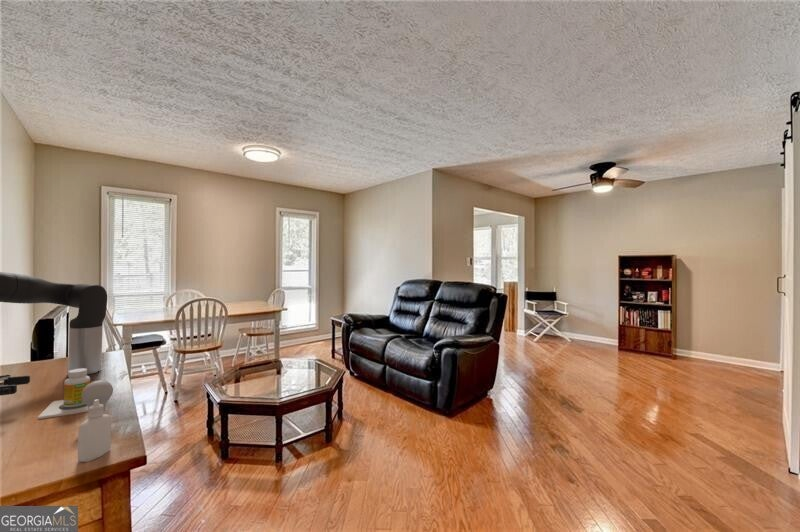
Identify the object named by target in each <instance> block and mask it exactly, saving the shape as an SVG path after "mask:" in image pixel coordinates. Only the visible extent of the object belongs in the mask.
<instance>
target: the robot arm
mask: <svg viewBox="0 0 800 532" xmlns="http://www.w3.org/2000/svg"><path fill="white" fill-rule="evenodd" d="M0 303H9V304H10V303H11V304H53V305H61V306H66V307H70V308H71V307H72V308H76V309H78V312H77V316H76V317H73V318H72V319H70V321H69V326H68V327H69V329H68V332H69V333H68V336H69V337H68V357H67V358H68V362H67V372H68V371H70V370H74V369H81V368H85V369H87V374H86V376H88V375H90V374H91V375H92V374H96V373H98V371H99V372H101V370H102V361H103V360H102V359H103V356H102V355H103V328H104V327H103V325H104V320H105V319H106V315H107V305H108V293H107V290H106V289H105V287H104V286H103V285H100V284H95V283H93V284H92V283H65V282H64V283H62V282H54V281H49V280H46V279H43V278H40V277H37V276H32V275H25V274H19V273H13V272H12V273H11V272H3V271H2V272H1V271H0ZM1 381H3V382H1ZM29 383H31V376H30V375H19V376H11V374H6V375H0V397H1V396H6V395H15V394H16V393H17V392H18V386H21V385H22V386H23V385H28V384H29Z"/></svg>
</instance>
